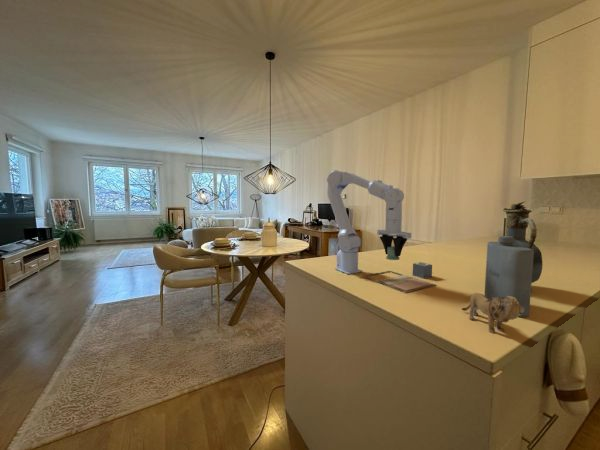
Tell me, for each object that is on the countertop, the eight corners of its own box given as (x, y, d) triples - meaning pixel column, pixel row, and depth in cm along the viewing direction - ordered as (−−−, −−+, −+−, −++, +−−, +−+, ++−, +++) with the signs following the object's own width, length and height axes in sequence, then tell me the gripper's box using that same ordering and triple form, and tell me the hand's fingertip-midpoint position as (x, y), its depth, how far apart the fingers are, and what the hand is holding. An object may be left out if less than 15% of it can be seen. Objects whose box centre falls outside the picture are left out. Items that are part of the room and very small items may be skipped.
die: (412, 275, 101) (412, 263, 100) (420, 273, 103) (421, 262, 103) (423, 278, 96) (424, 266, 96) (431, 277, 99) (432, 264, 98)
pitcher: (520, 282, 91) (526, 201, 89) (552, 301, 73) (560, 200, 71) (485, 279, 95) (490, 201, 93) (507, 296, 77) (514, 200, 75)
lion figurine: (527, 339, 53) (530, 299, 52) (506, 342, 52) (509, 301, 51) (469, 310, 67) (471, 278, 67) (452, 312, 67) (454, 279, 66)
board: (361, 276, 99) (361, 275, 99) (390, 271, 107) (390, 270, 107) (405, 293, 81) (405, 291, 81) (436, 285, 88) (436, 283, 88)
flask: (478, 295, 78) (481, 233, 77) (498, 296, 77) (503, 233, 76) (507, 316, 64) (513, 240, 62) (533, 318, 63) (539, 240, 61)
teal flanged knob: (383, 258, 96) (383, 246, 96) (392, 256, 98) (392, 245, 98) (393, 260, 92) (393, 248, 92) (402, 259, 94) (402, 247, 94)
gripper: (371, 219, 98) (371, 252, 100) (402, 221, 86) (401, 259, 87) (384, 218, 102) (384, 251, 103) (415, 220, 89) (414, 257, 90)
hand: (392, 255), depth 95 cm, fingers closed on teal flanged knob, 4 cm apart
